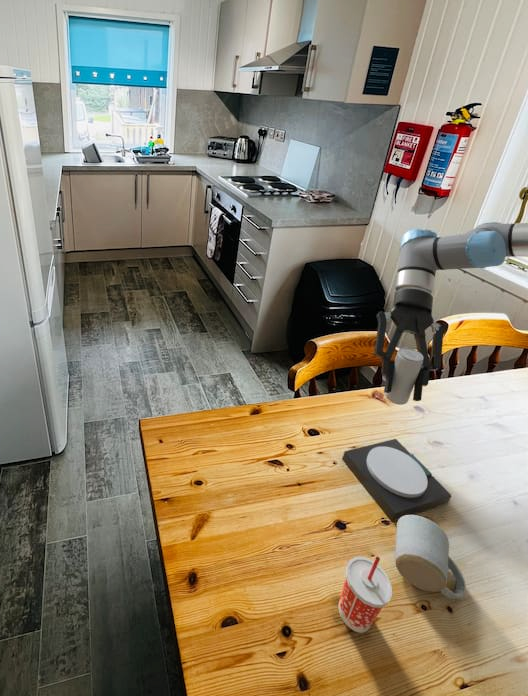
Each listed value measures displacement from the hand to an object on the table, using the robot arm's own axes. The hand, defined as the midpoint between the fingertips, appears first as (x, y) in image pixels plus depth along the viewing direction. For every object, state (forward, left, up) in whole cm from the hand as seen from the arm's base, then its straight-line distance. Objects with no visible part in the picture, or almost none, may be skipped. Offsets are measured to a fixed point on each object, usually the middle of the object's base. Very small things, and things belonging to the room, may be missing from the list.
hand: (402, 395), depth 83 cm
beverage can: (+3, -2, -4) cm, 6 cm away
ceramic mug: (-22, +11, -16) cm, 29 cm away
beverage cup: (-24, +27, -16) cm, 40 cm away
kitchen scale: (-7, +3, -16) cm, 18 cm away
